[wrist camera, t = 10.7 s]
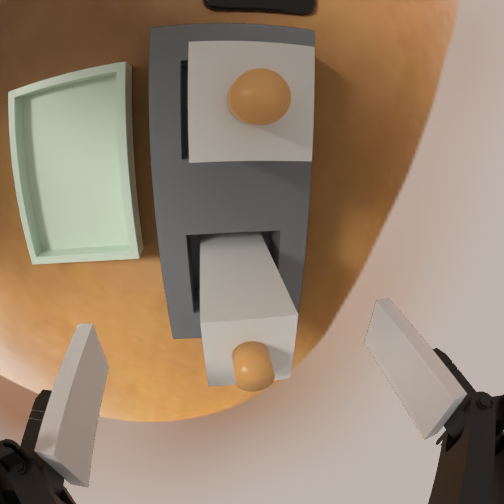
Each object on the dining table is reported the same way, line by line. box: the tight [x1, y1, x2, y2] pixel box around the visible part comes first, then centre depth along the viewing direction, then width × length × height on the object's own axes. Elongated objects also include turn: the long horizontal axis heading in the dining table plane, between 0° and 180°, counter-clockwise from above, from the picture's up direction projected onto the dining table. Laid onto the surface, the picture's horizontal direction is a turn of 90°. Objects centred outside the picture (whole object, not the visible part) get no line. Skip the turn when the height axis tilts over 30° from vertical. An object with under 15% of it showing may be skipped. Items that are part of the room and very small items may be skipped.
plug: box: [200, 231, 298, 391], centre depth 17 cm, size 4×4×12 cm
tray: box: [8, 61, 144, 264], centre depth 17 cm, size 9×13×2 cm
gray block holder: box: [149, 23, 315, 339], centre depth 15 cm, size 9×20×12 cm, turn 179°
